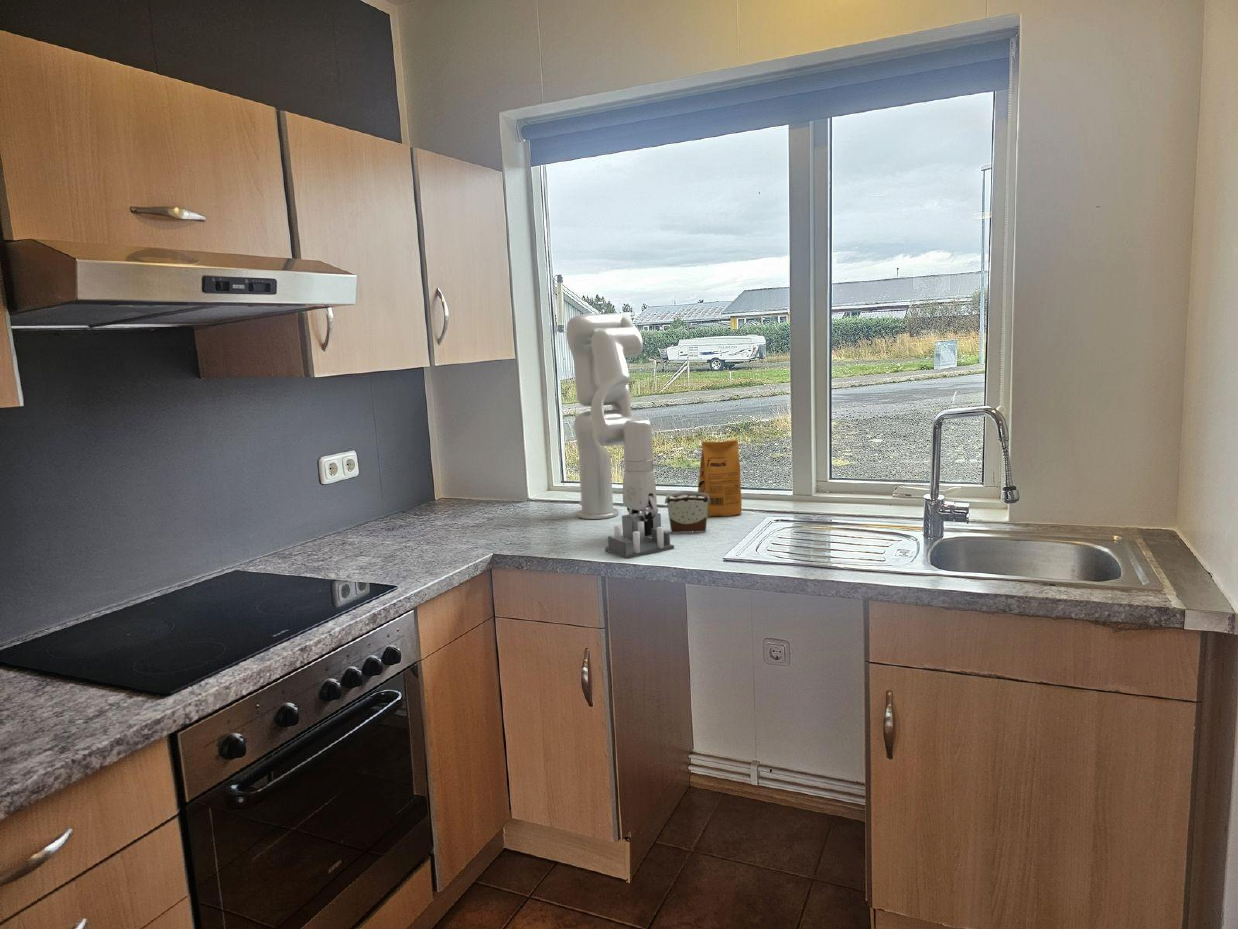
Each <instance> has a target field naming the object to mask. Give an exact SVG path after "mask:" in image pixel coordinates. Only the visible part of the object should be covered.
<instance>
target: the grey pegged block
mask: <svg viewBox="0 0 1238 929" xmlns="http://www.w3.org/2000/svg"><path fill="white" fill-rule="evenodd" d="M613 527H614V528H613V529H614V536H608V537H607V542H608V543H607V544H608V546H606V547H604V551H605V552H608V551H609V552H608V553H610V552H611V554H613V553H614V554H613V555H615V556H618V555H620V556H619V557H621V556H622V557H621V558H624V559H626V558H627V559H632V558H635V556H636V557H640V556H639V555H641V556H646V555H649V554H650V555H651V554H654V553H660V552H664V551H665V552H666V551H669V550H674V549H675V545H673V544H671V535H670V534H671V533H670V532H668V531H665V530H664V527H663V526H661V527H657V529H655V528H652V529H651V534H652V538H647V539H645V535H644V522H643V521H639V522H638V531H635V532H633V541H630V542H627V541H625V540H623V539H622V526H621V525H614V526H613ZM631 557H632V558H631Z"/></svg>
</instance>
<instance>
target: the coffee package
mask: <svg viewBox="0 0 1238 929" xmlns="http://www.w3.org/2000/svg"><path fill="white" fill-rule="evenodd" d="M701 443H702V444H701V447H702V450H701V458H700V462H699V463H700V468H699V475H698V476H699V477H698V478H699V479H698V484H697V486H698V487H697V492H700V493H706V494H708V496H709V498H710V502H711V503H710V502H709V501H708V512H707V518H710V517H711V516H712V517H723V516H726V517H731V516H730V515H734V516H738V515H737V514H740V515H741V514H742V505H743V504H742V490H741V489H742V488H741V465H740V464H741V463H740V456H739V440H738V438H734V439H730V440H724V441H709V440H701Z"/></svg>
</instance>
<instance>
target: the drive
mask: <svg viewBox="0 0 1238 929" xmlns="http://www.w3.org/2000/svg"><path fill="white" fill-rule="evenodd" d="M648 512H649V511H647V512H646V515H647V514H648ZM639 521H643V516H642V511H640V513H635V514H629V513H628V514H624V515H621V523H622V524H621V525H622V526H621V529H622V538H623V537H624V538H623V539H625V538H627V539H626V540H628V539H629V540H628V541H630V542H633V532H635V531H638V522H639ZM657 527H662V516H661V513H659V512H657V513H656V515H655V517H654V520H653V528H655V529H657ZM650 537H652V535H650V536H645V538H647V539H650Z"/></svg>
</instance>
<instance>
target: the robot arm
mask: <svg viewBox="0 0 1238 929" xmlns="http://www.w3.org/2000/svg"><path fill="white" fill-rule="evenodd" d="M565 332H566V341H567V344H568V348H569V350H570V353H571V356H572V359H573V364H574V365H573V366H574V368H573V369H574V377H575V378H574V381H575V392H576V399H577V401H578V404H580V405H581V406H582V407H590V410H588V411H583V412H581V413H579V414H578V415H577V416H576V417H575V419H574V421H573V429H574V433H575V439H576V444H577V451H578V464H579V466H578V467H579V483H580V498H581V499H580V500H579V501H578V504H579V505H580V506H581V509H580V510H578V511H577V512H576V516H577V518H580V519H582V520H583V519H584V520H601V519H602V520H603V519H609V518H614V517H616V516H617V515H619V509H618V508H615V507H614V501H613V499H614V498H613V496H614V495H613V480H612V462H611V461H612V460H611V456H610V452H609V451H608V450H607V449H606V447H615V446H623V457H624V458H623V459H624V472H623V479H622V504H623V507H625V508H626V510H627V512H628V515H629V514H635V513H641V512H642V516H643V522H644V535H645V536H650V535H652V534H651V529H652V528H653V520H654V517H655V515H656V513H659V508H658V506H657V505H658V504H657V503H658V502H657V501H658V500H657V488H656V480H655V475H654V460H653V459H654V454H653V453H654V451H653V427H652V422H651V421H650V420H649V419H647V418H642V417H640V416H638V415H635V416H634V415H633V416H632V407H631V406H632V404H631V391H630V386H629V383H630V381H631V376H630V375H631V374H630V371H629V367H628V363H627V358H636V357H639V356H640V355H641V354H642V352H643V347H644V342H643V337H642V335H641V332H640V330H639V329H638V328H637V327H636V325H635V324H634V323H632V321H631V320H630V319H628V317H627V316H625V315H624V314H621V313H588V314H587V313H585V314H579V315H575V316H573V317H571V318H570V319H569V320H568V322H567V324H566V331H565ZM604 406H611V407H612V409H604ZM647 511H649V512H648V514H647V515H646V512H647Z"/></svg>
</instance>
